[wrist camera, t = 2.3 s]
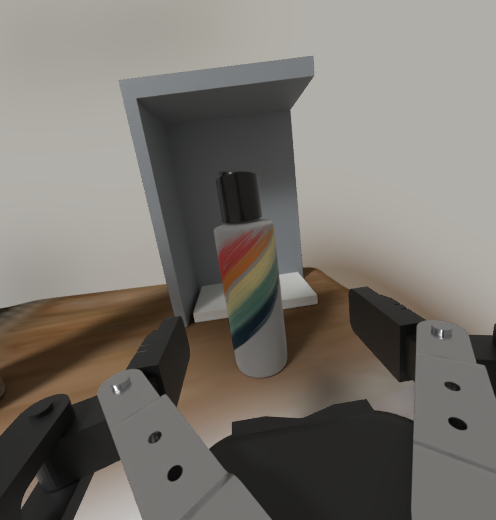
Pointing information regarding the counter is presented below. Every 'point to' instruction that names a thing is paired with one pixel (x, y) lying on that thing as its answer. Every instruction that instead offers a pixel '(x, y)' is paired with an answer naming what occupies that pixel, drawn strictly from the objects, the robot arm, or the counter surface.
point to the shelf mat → (292, 295)
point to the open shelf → (215, 160)
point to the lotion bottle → (250, 276)
